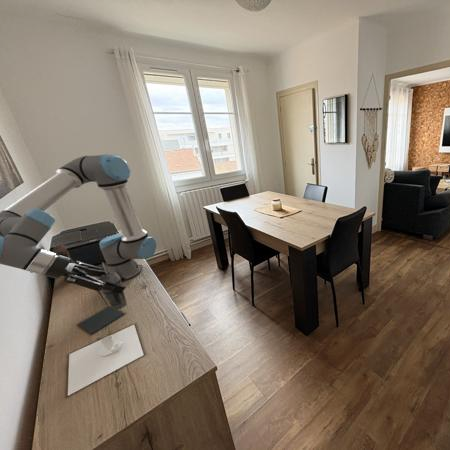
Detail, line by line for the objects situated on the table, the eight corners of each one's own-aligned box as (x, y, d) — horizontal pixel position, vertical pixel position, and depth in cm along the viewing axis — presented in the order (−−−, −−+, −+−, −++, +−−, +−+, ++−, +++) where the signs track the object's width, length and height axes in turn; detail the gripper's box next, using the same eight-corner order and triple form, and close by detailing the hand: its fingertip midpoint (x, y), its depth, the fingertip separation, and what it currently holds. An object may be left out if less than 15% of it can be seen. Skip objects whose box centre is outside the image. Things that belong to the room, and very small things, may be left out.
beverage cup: (108, 315, 93) (88, 271, 85) (109, 304, 98) (91, 262, 91) (130, 307, 96) (113, 264, 89) (130, 297, 102) (114, 256, 94)
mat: (109, 306, 109) (109, 306, 109) (124, 314, 104) (124, 313, 104) (77, 324, 99) (77, 324, 99) (91, 334, 94) (91, 333, 94)
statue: (82, 272, 139) (68, 241, 132) (79, 278, 134) (64, 246, 126) (67, 276, 136) (52, 245, 129) (63, 282, 131) (47, 250, 123)
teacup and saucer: (126, 348, 86) (122, 340, 85) (98, 362, 82) (93, 353, 80) (122, 335, 93) (119, 326, 91) (96, 347, 88) (92, 338, 86)
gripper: (50, 262, 89) (118, 281, 103) (34, 288, 73) (116, 307, 88) (63, 245, 90) (128, 267, 104) (50, 267, 74) (129, 289, 88)
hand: (123, 285), depth 96 cm, fingers closed on beverage cup, 7 cm apart
